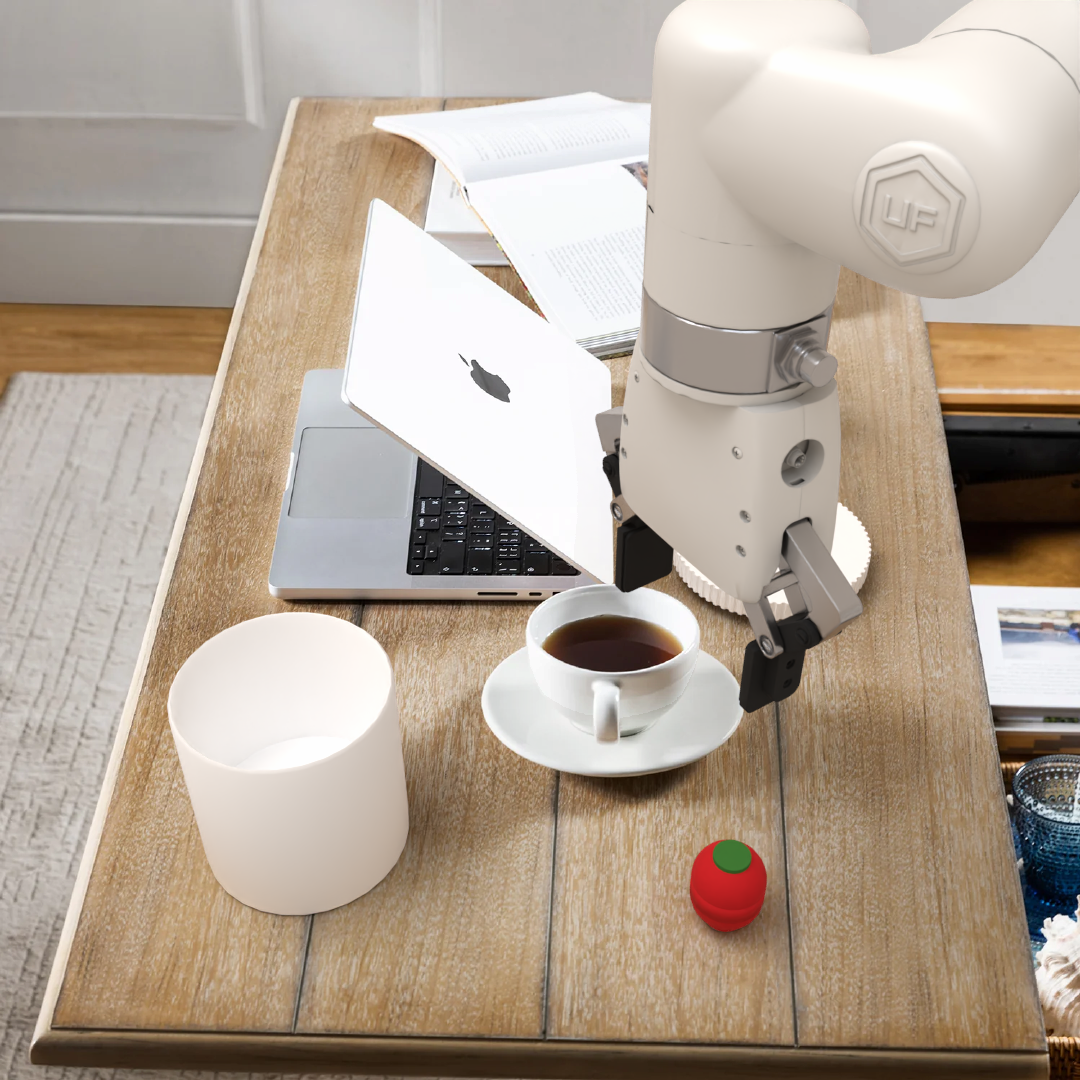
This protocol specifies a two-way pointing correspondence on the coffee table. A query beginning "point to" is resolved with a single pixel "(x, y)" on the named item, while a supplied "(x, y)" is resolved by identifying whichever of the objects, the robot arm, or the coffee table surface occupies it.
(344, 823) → the cup
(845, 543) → the plastic lid
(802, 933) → the coffee table surface
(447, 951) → the coffee table surface
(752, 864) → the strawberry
